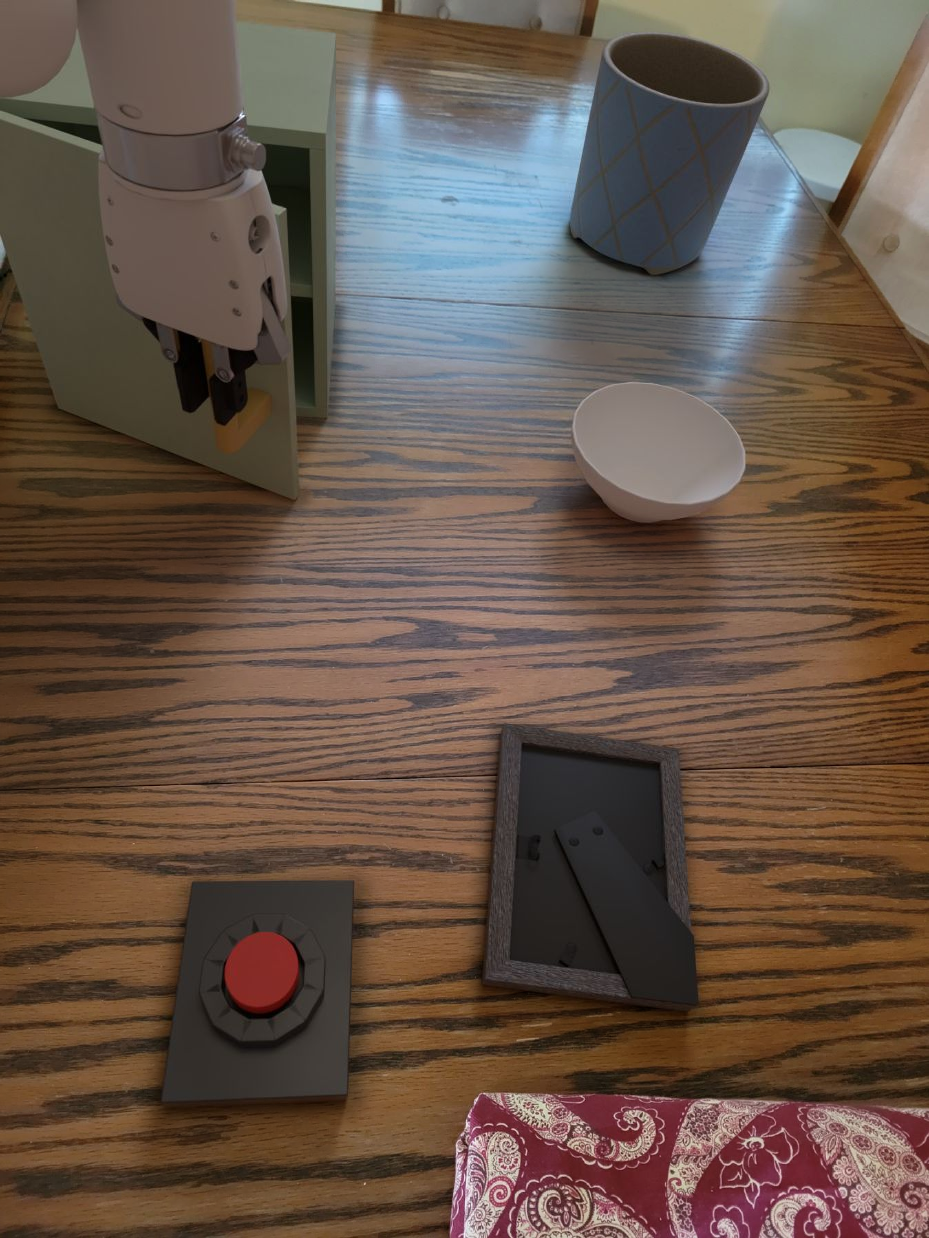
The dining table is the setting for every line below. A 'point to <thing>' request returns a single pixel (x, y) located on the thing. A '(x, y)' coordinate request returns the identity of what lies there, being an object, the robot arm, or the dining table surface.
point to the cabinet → (293, 171)
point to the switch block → (272, 1042)
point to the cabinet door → (124, 321)
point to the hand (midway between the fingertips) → (214, 406)
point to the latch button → (262, 972)
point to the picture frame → (589, 871)
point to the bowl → (655, 451)
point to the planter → (663, 146)
